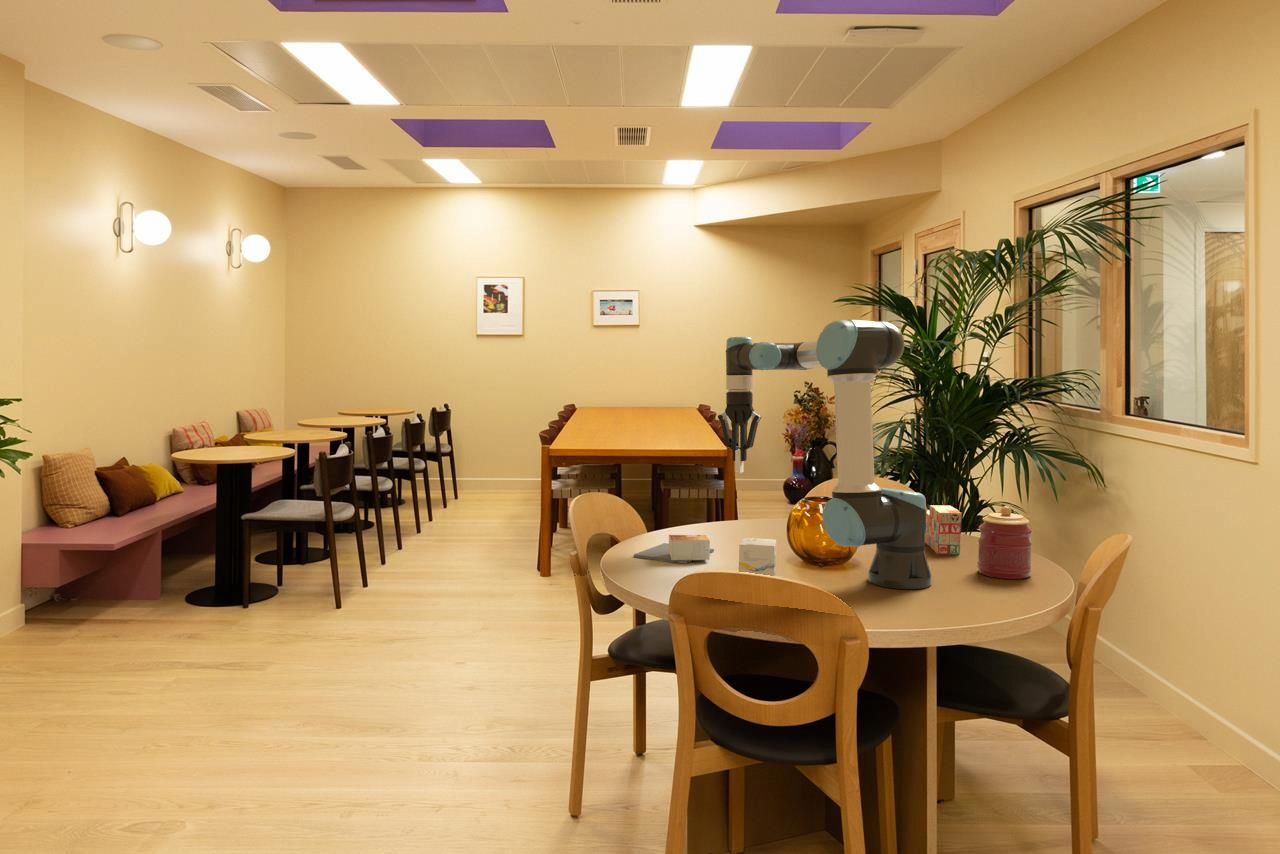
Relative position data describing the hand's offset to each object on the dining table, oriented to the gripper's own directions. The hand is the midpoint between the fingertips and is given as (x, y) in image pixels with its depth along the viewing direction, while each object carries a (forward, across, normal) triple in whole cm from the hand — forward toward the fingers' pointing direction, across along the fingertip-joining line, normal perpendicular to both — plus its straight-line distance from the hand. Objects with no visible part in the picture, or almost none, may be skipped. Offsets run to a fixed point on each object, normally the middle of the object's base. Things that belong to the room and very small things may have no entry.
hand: (739, 472), depth 270 cm
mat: (+22, +13, +17) cm, 31 cm away
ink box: (+24, -22, +41) cm, 52 cm away
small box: (+19, +2, +18) cm, 26 cm away
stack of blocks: (+23, -50, -32) cm, 64 cm away
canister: (+24, -72, -4) cm, 76 cm away
